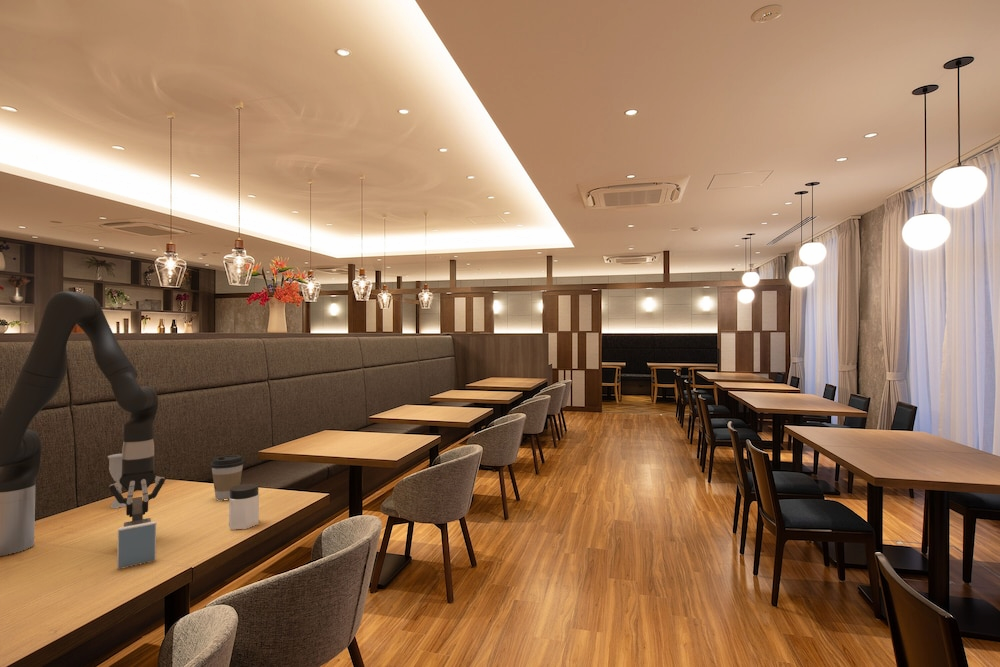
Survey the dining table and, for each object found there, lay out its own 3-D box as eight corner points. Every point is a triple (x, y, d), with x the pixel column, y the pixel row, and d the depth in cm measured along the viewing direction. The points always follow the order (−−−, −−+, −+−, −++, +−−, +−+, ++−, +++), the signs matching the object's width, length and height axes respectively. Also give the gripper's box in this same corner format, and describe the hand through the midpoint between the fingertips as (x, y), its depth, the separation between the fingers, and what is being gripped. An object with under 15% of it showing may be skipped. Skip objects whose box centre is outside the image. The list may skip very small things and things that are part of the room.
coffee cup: (210, 496, 181) (211, 456, 181) (244, 491, 186) (245, 453, 186) (208, 504, 171) (208, 462, 171) (244, 499, 176) (244, 459, 176)
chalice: (101, 508, 168) (102, 456, 168) (121, 502, 174) (122, 452, 175) (116, 509, 166) (117, 458, 166) (136, 503, 172) (137, 453, 173)
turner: (151, 532, 130) (151, 522, 130) (123, 538, 126) (123, 527, 126) (149, 504, 147) (149, 495, 147) (124, 509, 144) (124, 499, 143)
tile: (116, 569, 121) (117, 530, 121) (117, 567, 122) (117, 528, 122) (155, 561, 126) (156, 522, 126) (155, 558, 127) (156, 520, 127)
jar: (263, 519, 155) (264, 482, 156) (253, 529, 147) (253, 490, 147) (235, 521, 154) (235, 483, 155) (222, 530, 146) (223, 491, 147)
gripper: (107, 461, 132) (105, 524, 132) (167, 454, 141) (167, 513, 140) (108, 456, 138) (107, 516, 138) (166, 450, 147) (165, 506, 146)
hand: (137, 514), depth 139 cm, fingers closed on turner, 2 cm apart
